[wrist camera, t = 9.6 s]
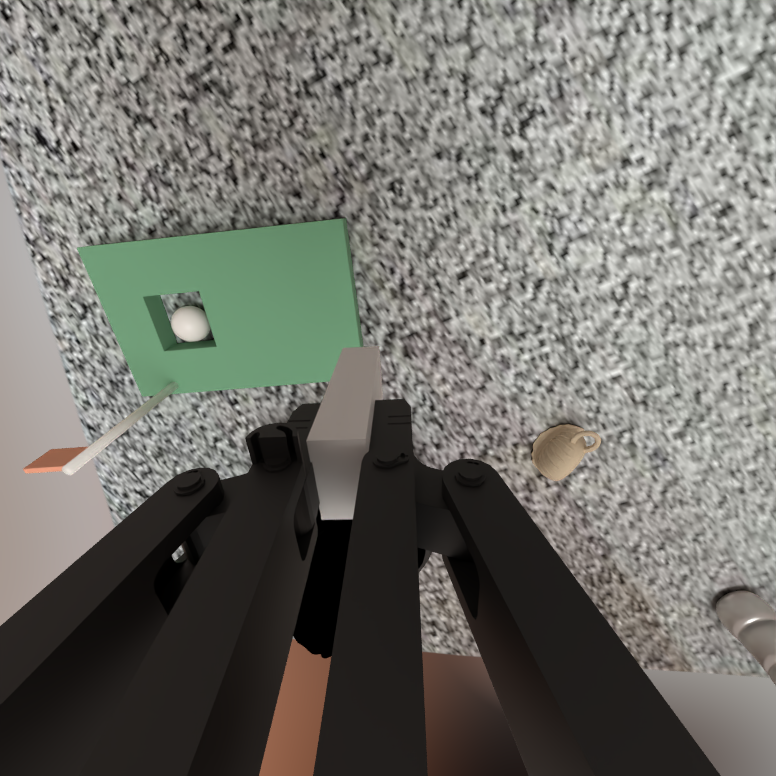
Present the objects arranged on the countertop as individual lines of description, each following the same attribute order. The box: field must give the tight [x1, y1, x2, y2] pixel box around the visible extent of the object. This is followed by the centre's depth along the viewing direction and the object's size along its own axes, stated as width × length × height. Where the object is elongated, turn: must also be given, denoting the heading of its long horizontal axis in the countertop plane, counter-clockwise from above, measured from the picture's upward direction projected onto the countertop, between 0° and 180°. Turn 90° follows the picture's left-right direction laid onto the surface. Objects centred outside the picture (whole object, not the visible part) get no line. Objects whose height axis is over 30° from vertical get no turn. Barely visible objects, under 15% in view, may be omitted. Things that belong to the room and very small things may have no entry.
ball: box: [171, 306, 211, 342], centre depth 37 cm, size 4×4×4 cm
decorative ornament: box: [531, 424, 601, 481], centre depth 41 cm, size 4×8×5 cm, turn 150°
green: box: [23, 218, 363, 475], centre depth 30 cm, size 15×24×16 cm, turn 96°
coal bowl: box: [293, 508, 432, 658], centre depth 38 cm, size 20×20×19 cm
